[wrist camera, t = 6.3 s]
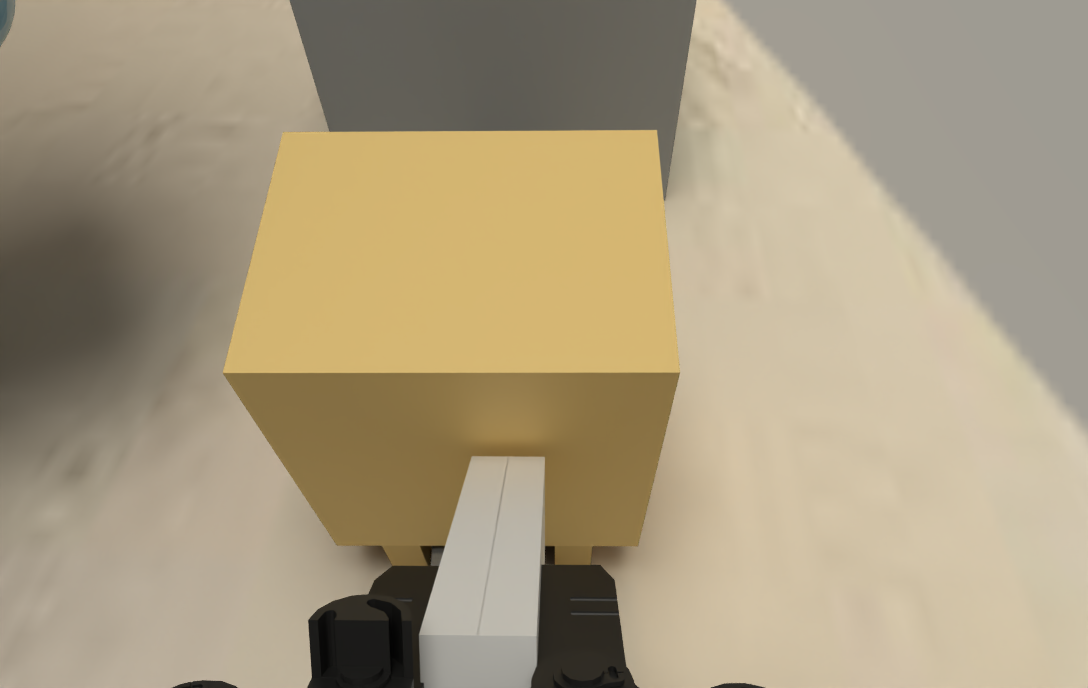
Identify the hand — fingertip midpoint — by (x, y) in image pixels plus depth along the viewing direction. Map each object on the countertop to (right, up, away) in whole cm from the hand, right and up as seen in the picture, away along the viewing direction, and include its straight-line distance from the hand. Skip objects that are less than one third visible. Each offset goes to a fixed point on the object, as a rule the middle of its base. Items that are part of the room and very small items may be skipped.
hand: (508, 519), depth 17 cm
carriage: (-1, 0, +9) cm, 9 cm away
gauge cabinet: (-1, +12, +17) cm, 21 cm away
